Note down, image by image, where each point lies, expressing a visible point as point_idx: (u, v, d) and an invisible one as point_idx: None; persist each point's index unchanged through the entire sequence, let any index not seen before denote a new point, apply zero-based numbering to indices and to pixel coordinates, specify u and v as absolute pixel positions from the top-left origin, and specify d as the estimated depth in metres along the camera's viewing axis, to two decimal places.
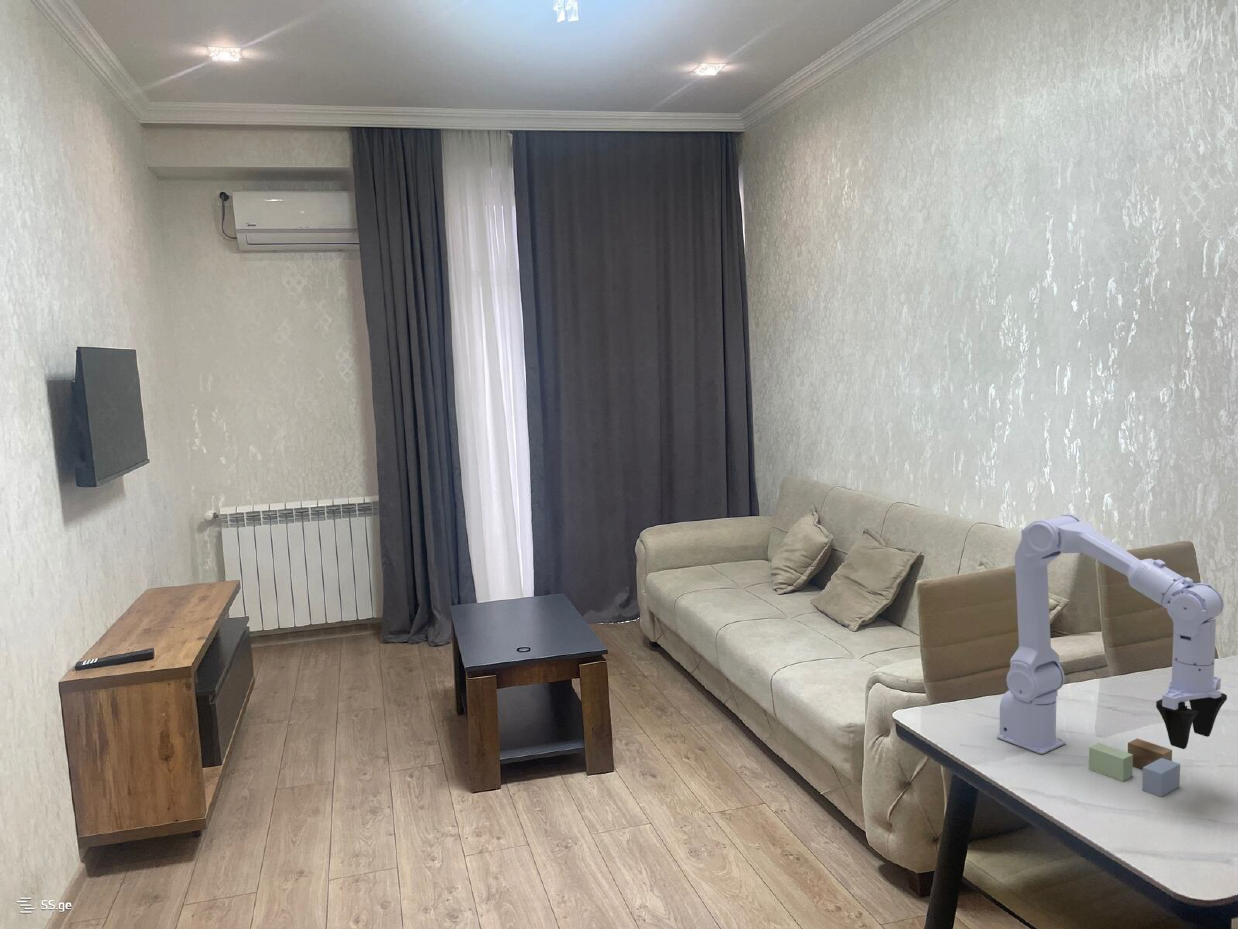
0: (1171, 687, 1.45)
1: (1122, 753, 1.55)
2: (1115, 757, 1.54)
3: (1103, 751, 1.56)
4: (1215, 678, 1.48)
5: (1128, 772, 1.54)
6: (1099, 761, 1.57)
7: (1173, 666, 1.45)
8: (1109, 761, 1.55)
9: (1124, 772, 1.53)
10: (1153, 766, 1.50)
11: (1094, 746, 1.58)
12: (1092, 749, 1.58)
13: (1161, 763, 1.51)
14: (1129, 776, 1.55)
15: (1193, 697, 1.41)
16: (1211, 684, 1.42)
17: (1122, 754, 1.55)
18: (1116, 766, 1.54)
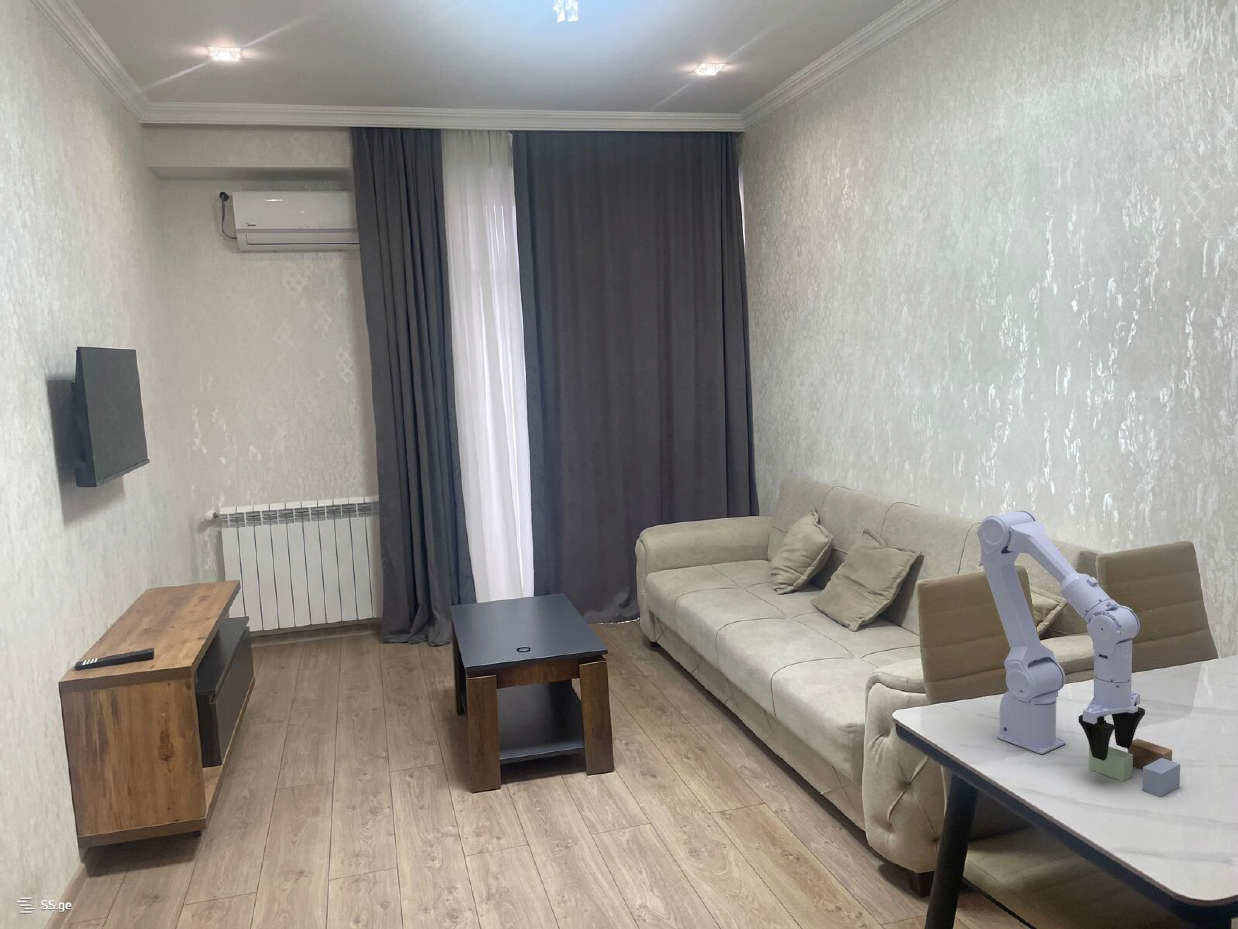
0: (1092, 702, 1.56)
1: (1122, 753, 1.55)
2: (1115, 757, 1.54)
3: None
4: (1135, 694, 1.59)
5: (1128, 773, 1.54)
6: (1099, 761, 1.57)
7: (1094, 683, 1.56)
8: (1109, 762, 1.55)
9: (1124, 772, 1.53)
10: (1153, 766, 1.50)
11: None
12: None
13: (1161, 763, 1.51)
14: (1129, 776, 1.55)
15: (1111, 712, 1.52)
16: (1128, 700, 1.53)
17: (1122, 754, 1.55)
18: (1116, 766, 1.54)
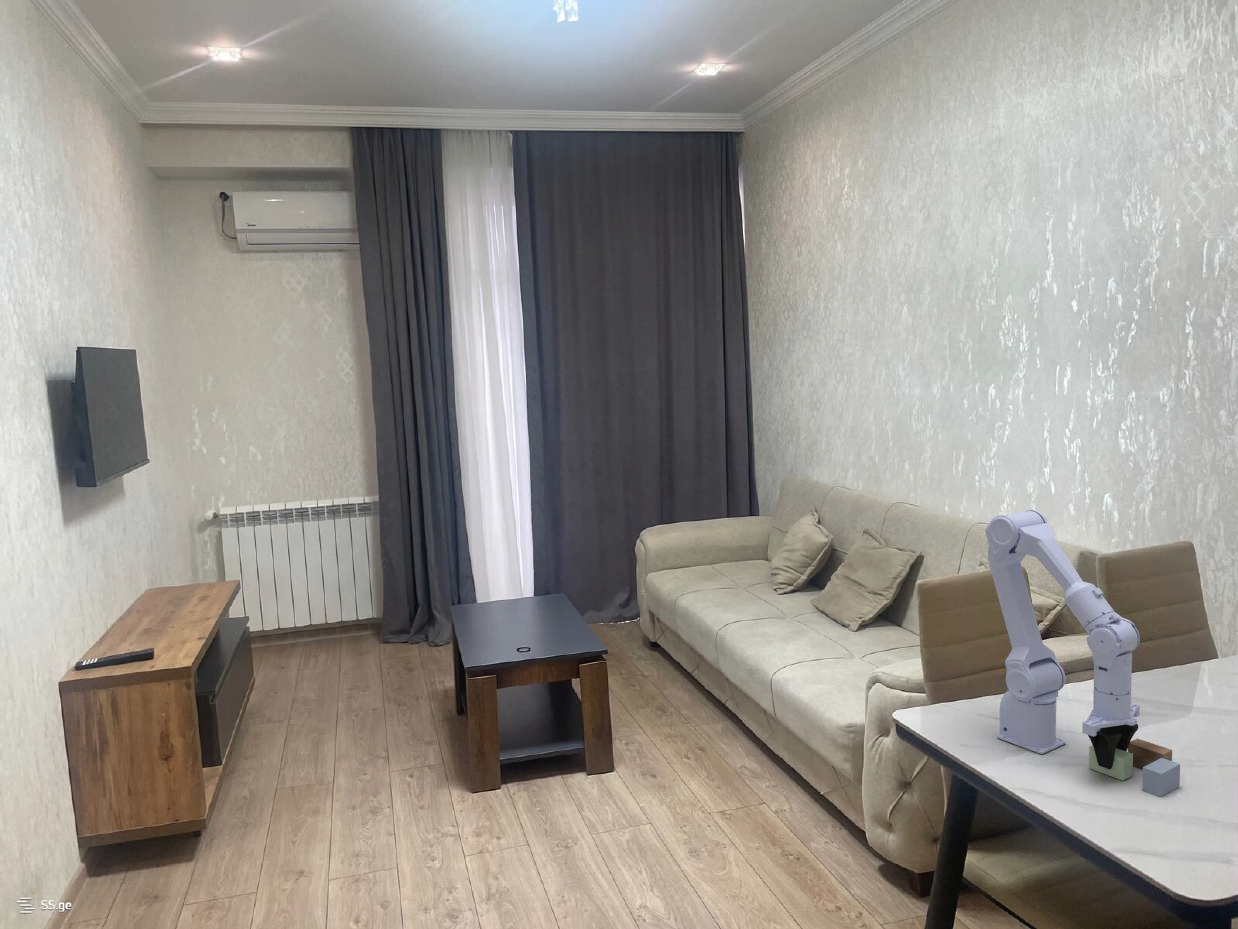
0: (1092, 714, 1.56)
1: (1122, 752, 1.55)
2: (1115, 756, 1.54)
3: None
4: (1135, 705, 1.59)
5: (1128, 772, 1.54)
6: None
7: (1094, 695, 1.56)
8: None
9: (1124, 771, 1.53)
10: (1153, 766, 1.50)
11: None
12: (1092, 748, 1.58)
13: (1161, 763, 1.51)
14: (1129, 775, 1.55)
15: (1111, 724, 1.52)
16: (1128, 712, 1.53)
17: (1122, 753, 1.55)
18: (1116, 765, 1.54)
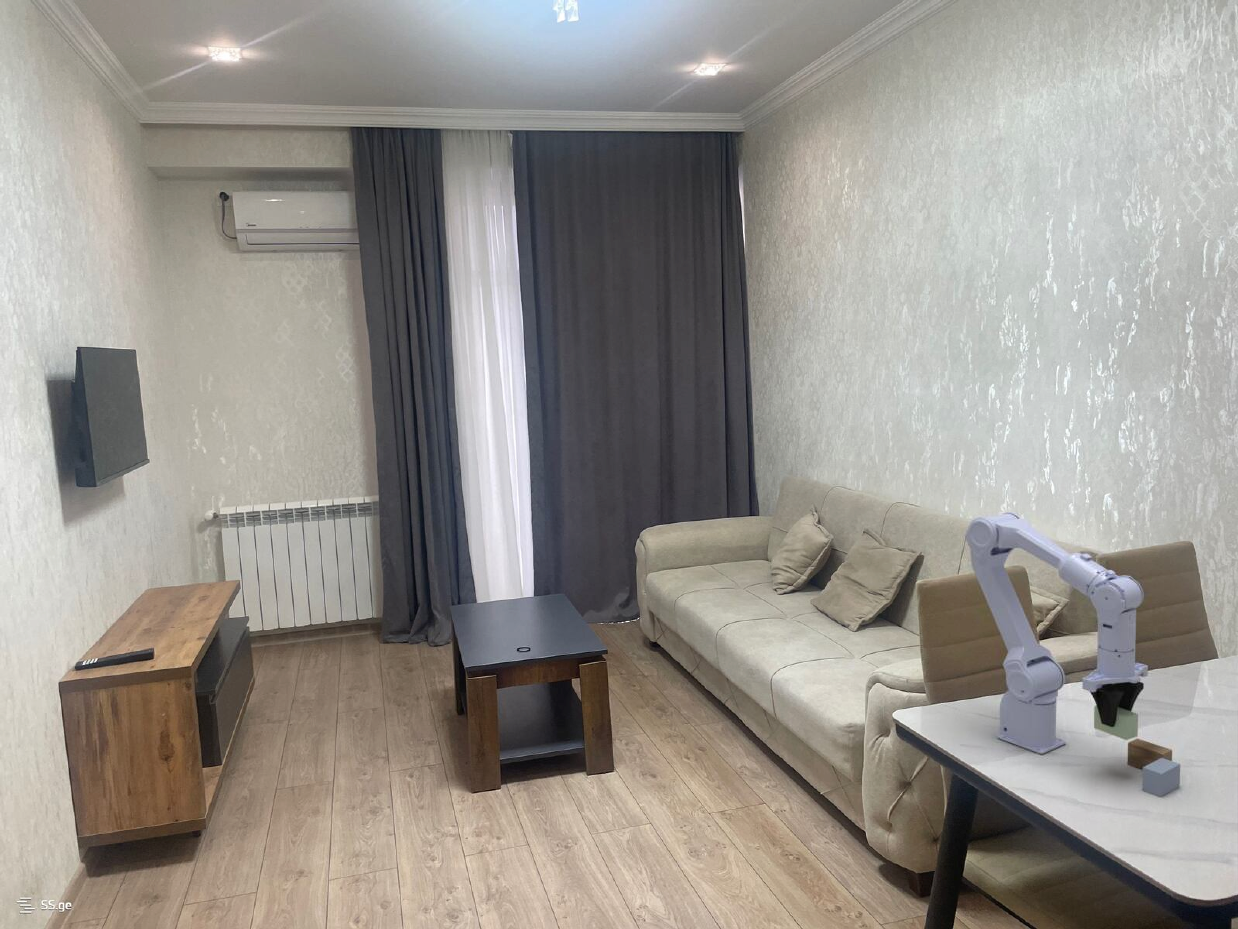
0: (1095, 672, 1.55)
1: (1127, 712, 1.54)
2: (1119, 716, 1.53)
3: None
4: (1143, 666, 1.58)
5: (1133, 732, 1.53)
6: None
7: (1097, 652, 1.55)
8: None
9: (1127, 731, 1.52)
10: (1153, 766, 1.50)
11: None
12: (1097, 708, 1.57)
13: (1161, 763, 1.51)
14: (1134, 735, 1.53)
15: (1112, 681, 1.52)
16: (1131, 670, 1.52)
17: (1127, 713, 1.54)
18: (1120, 725, 1.53)
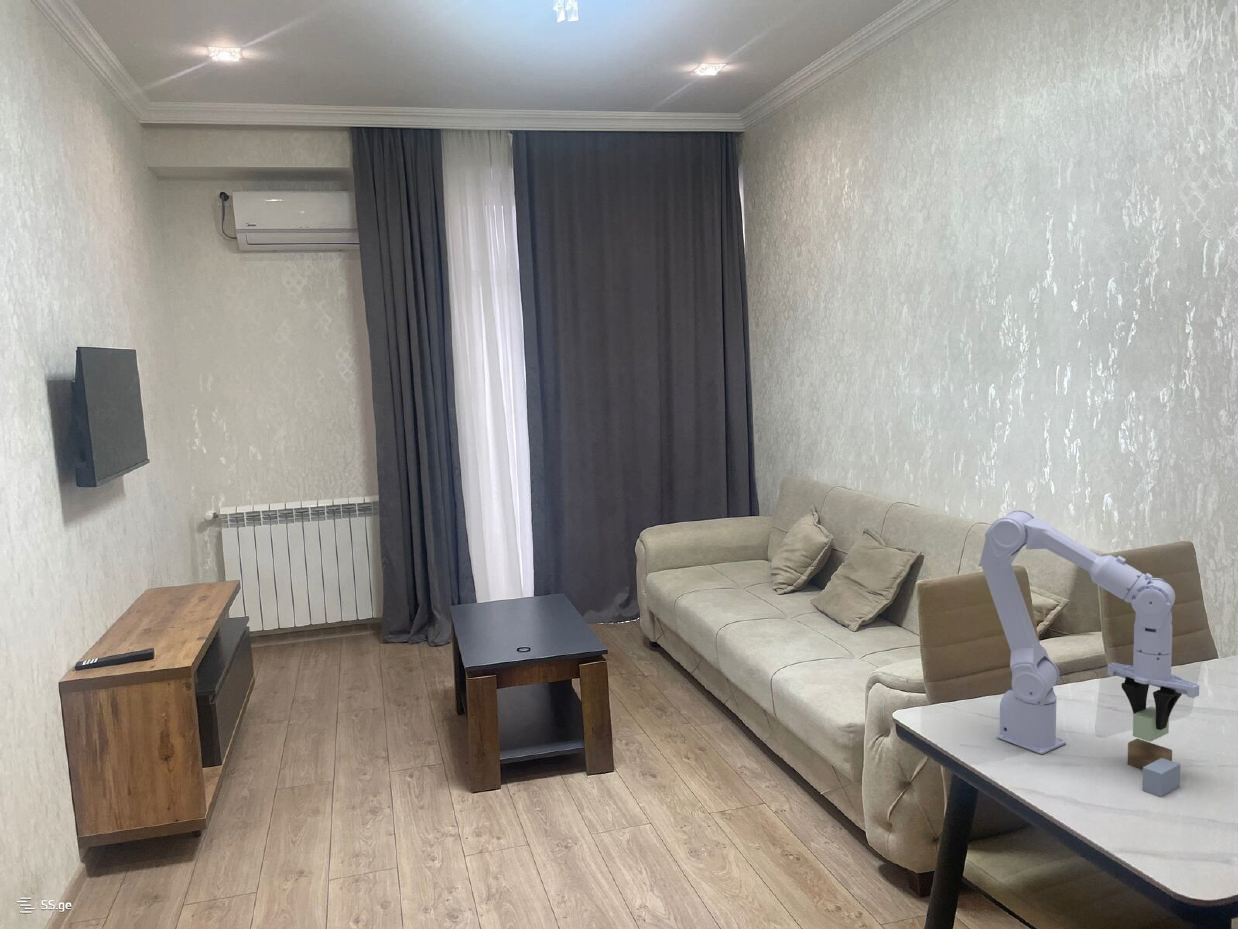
0: None
1: (1150, 716, 1.55)
2: (1137, 713, 1.57)
3: (1146, 709, 1.58)
4: None
5: (1143, 734, 1.55)
6: None
7: None
8: None
9: (1134, 728, 1.57)
10: (1153, 766, 1.50)
11: None
12: (1149, 708, 1.59)
13: (1161, 763, 1.51)
14: (1144, 738, 1.55)
15: (1124, 673, 1.58)
16: (1143, 671, 1.54)
17: (1146, 715, 1.56)
18: None
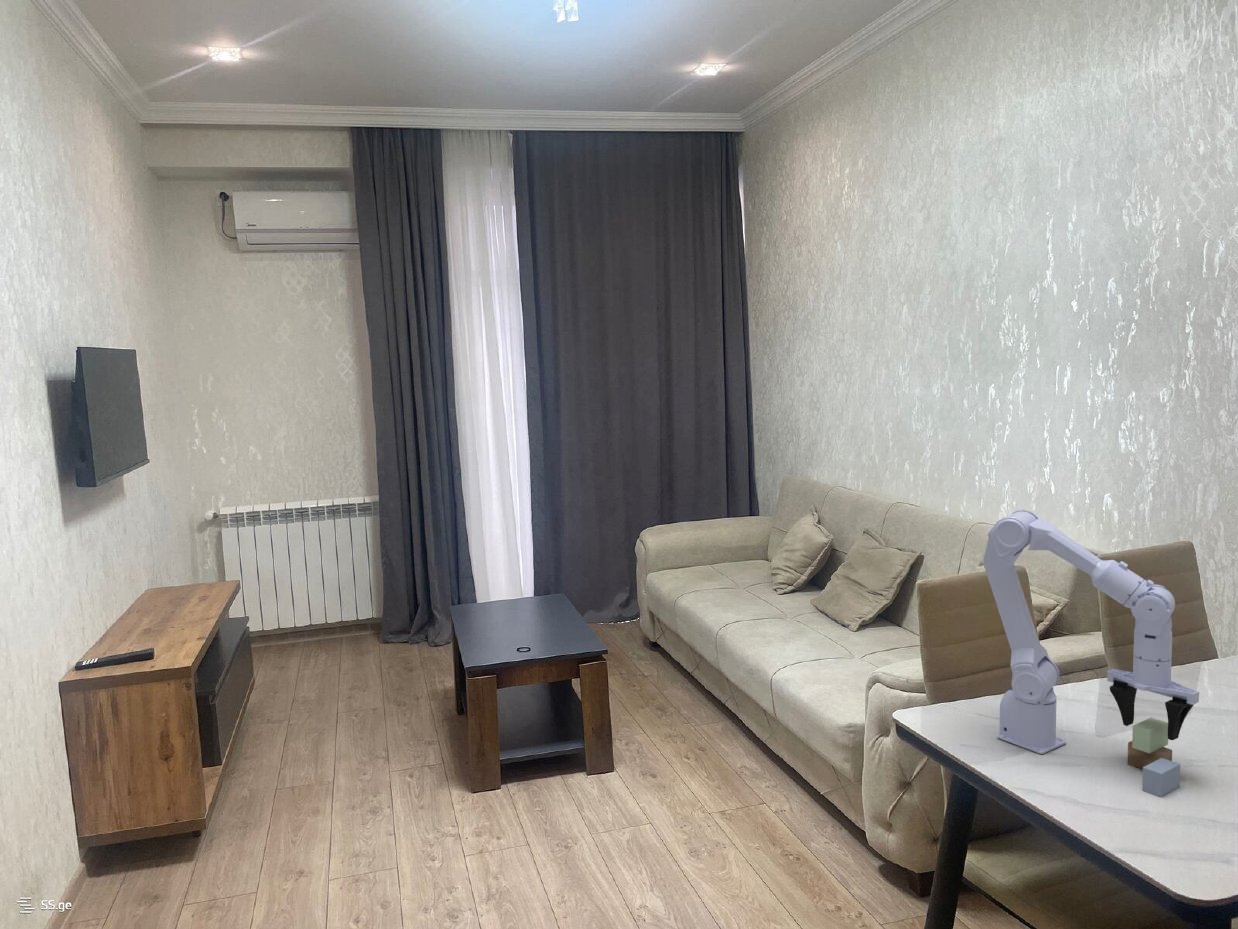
0: None
1: (1149, 728, 1.56)
2: (1136, 724, 1.58)
3: (1145, 721, 1.58)
4: None
5: (1143, 745, 1.56)
6: None
7: None
8: None
9: (1134, 739, 1.57)
10: (1153, 766, 1.50)
11: (1156, 719, 1.59)
12: (1149, 719, 1.60)
13: (1161, 763, 1.51)
14: (1144, 750, 1.56)
15: (1124, 679, 1.58)
16: (1142, 678, 1.55)
17: (1145, 727, 1.56)
18: None
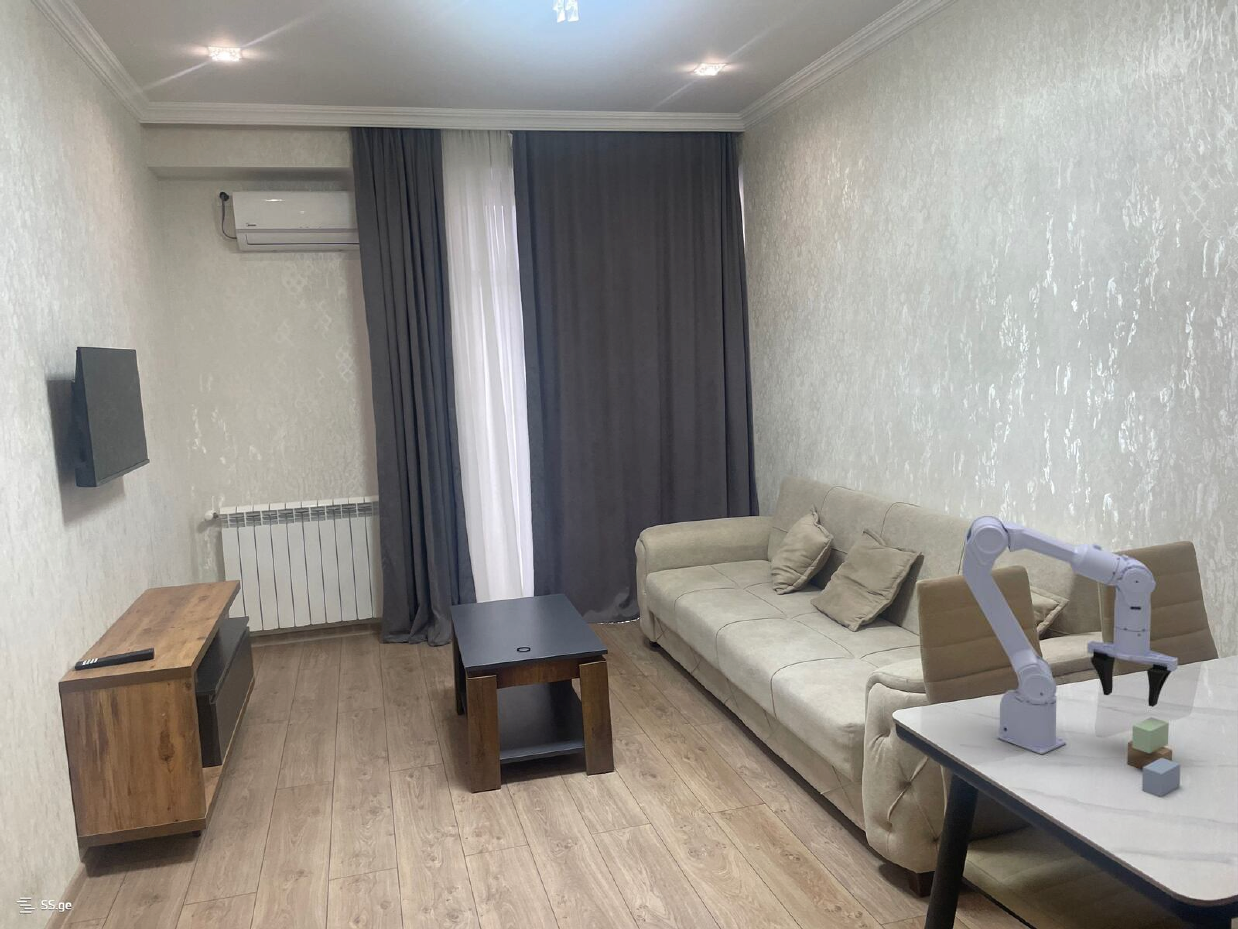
0: None
1: (1149, 728, 1.56)
2: (1136, 724, 1.58)
3: (1146, 721, 1.58)
4: None
5: (1142, 745, 1.56)
6: None
7: None
8: None
9: (1133, 739, 1.57)
10: (1153, 766, 1.50)
11: (1156, 719, 1.59)
12: (1149, 719, 1.60)
13: (1161, 763, 1.51)
14: (1144, 749, 1.56)
15: (1105, 650, 1.64)
16: (1124, 648, 1.60)
17: (1145, 727, 1.56)
18: None
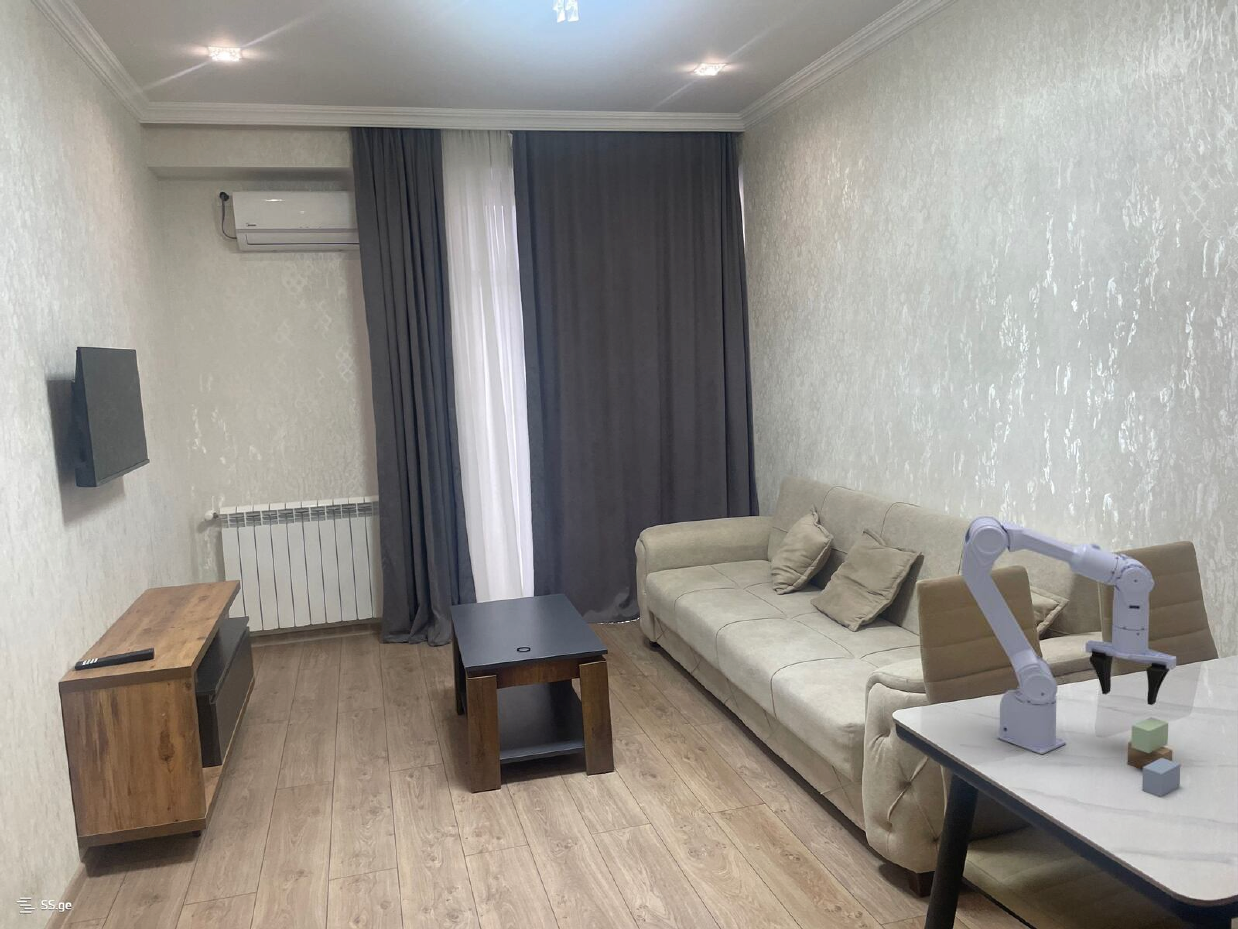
0: None
1: (1149, 727, 1.56)
2: (1136, 724, 1.58)
3: (1145, 721, 1.59)
4: (1172, 659, 1.58)
5: (1142, 745, 1.56)
6: None
7: None
8: None
9: (1133, 739, 1.57)
10: (1153, 766, 1.50)
11: (1155, 719, 1.59)
12: (1149, 719, 1.60)
13: (1161, 763, 1.51)
14: (1143, 749, 1.56)
15: (1104, 649, 1.64)
16: (1124, 647, 1.61)
17: (1144, 727, 1.56)
18: None
